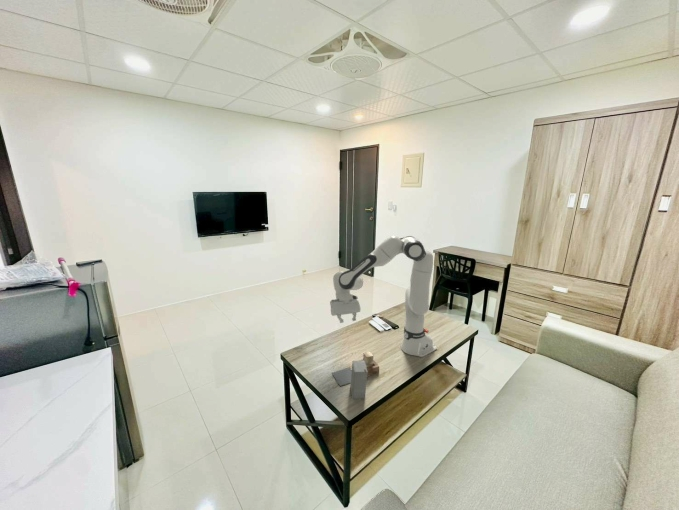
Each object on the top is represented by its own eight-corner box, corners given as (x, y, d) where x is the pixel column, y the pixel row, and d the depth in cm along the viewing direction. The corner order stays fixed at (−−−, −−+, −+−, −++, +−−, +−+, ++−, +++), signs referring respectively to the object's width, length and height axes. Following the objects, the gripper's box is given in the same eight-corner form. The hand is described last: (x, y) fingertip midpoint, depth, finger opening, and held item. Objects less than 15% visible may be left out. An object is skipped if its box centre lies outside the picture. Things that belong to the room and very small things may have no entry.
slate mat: (349, 368, 152) (349, 367, 152) (359, 380, 143) (359, 379, 142) (331, 373, 148) (331, 372, 148) (340, 386, 138) (340, 385, 138)
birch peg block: (369, 366, 153) (369, 351, 151) (372, 371, 150) (373, 355, 147) (362, 368, 152) (363, 353, 149) (366, 373, 148) (367, 357, 146)
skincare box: (350, 387, 138) (350, 360, 134) (363, 386, 139) (364, 359, 135) (352, 399, 130) (352, 371, 126) (366, 398, 130) (368, 370, 126)
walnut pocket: (370, 363, 157) (370, 357, 156) (379, 372, 149) (379, 366, 148) (356, 367, 153) (357, 361, 152) (364, 377, 145) (365, 370, 144)
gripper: (332, 298, 154) (337, 323, 150) (359, 296, 167) (364, 318, 163) (326, 301, 159) (330, 324, 155) (353, 298, 171) (357, 320, 167)
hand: (348, 321), depth 159 cm, fingers open, 8 cm apart
